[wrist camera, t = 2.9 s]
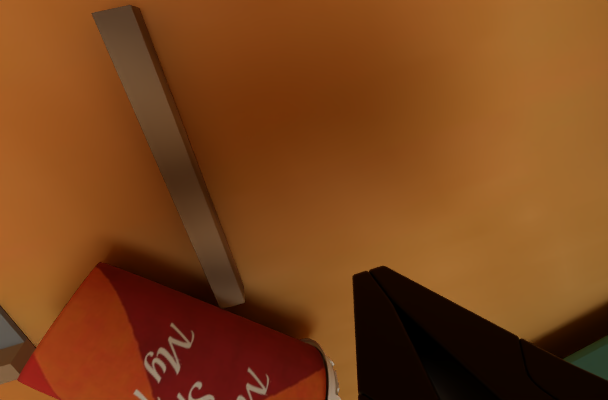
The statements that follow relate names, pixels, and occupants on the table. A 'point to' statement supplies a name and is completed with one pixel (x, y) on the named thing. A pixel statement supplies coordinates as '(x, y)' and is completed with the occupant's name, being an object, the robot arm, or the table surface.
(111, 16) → the strip
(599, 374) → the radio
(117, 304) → the coffee cup
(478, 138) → the table surface
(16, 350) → the mat
